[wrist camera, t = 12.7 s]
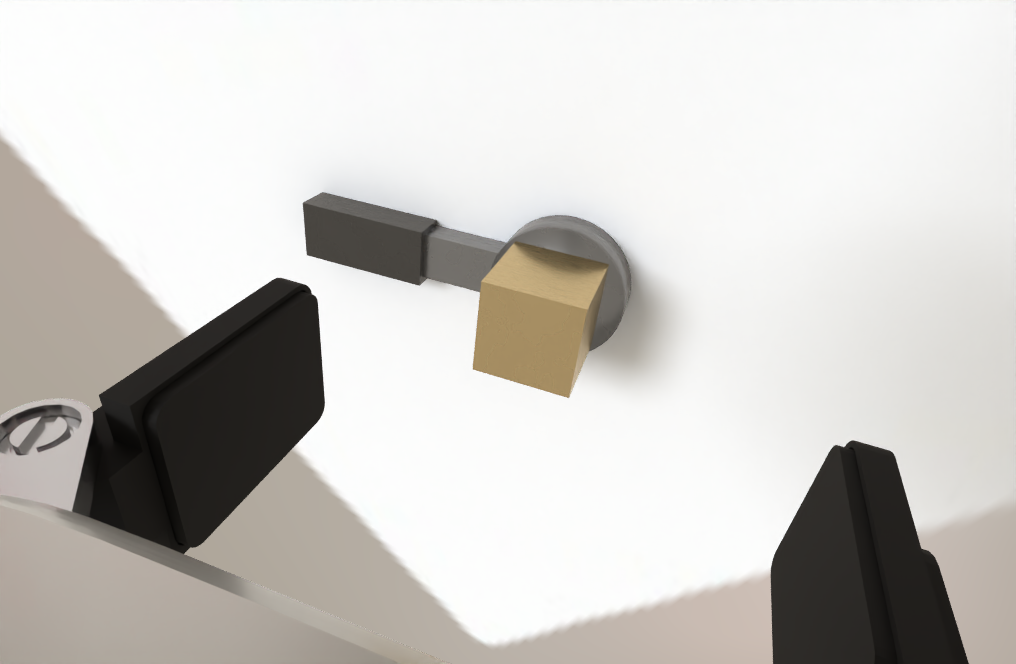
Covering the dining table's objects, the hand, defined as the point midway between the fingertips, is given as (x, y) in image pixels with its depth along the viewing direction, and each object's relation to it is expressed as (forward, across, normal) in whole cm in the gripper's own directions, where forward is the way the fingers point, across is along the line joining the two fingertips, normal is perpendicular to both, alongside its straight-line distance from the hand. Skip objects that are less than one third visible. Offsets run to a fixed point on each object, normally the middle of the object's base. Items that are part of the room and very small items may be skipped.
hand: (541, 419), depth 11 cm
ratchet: (+28, +12, +12) cm, 33 cm away
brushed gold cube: (+26, +5, +12) cm, 29 cm away
